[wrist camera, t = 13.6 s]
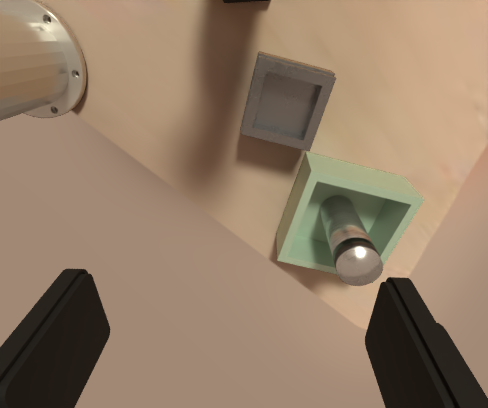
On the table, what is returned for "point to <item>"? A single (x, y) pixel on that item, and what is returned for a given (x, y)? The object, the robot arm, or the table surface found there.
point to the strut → (349, 242)
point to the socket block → (286, 101)
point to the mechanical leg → (232, 0)
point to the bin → (363, 199)
